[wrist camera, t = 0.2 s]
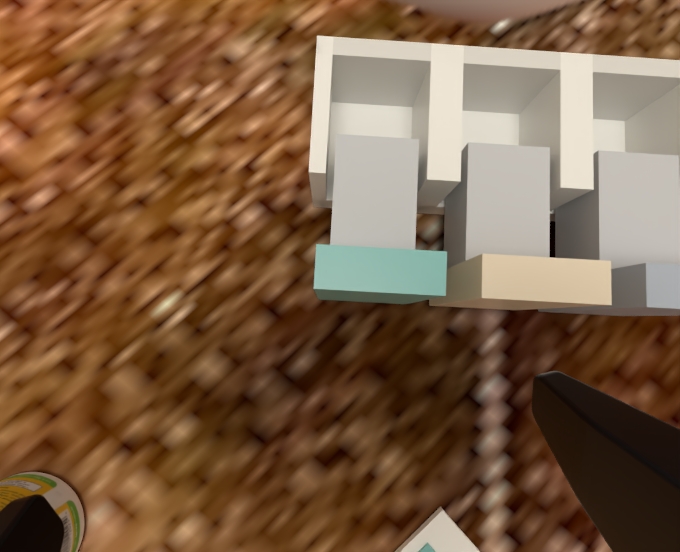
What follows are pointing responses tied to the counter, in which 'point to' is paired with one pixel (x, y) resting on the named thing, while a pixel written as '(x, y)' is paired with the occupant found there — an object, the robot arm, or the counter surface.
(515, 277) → the button tan
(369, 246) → the button teal
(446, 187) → the gray divided box
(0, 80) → the counter surface
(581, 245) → the drawer slate
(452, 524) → the card
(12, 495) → the supplement bottle
